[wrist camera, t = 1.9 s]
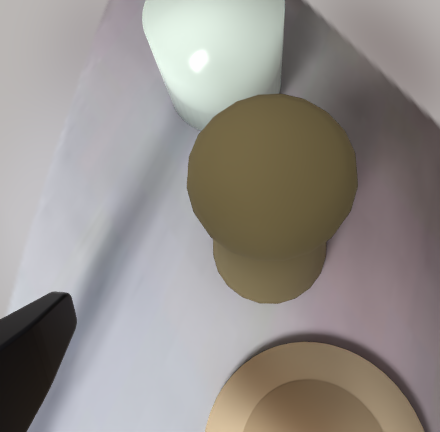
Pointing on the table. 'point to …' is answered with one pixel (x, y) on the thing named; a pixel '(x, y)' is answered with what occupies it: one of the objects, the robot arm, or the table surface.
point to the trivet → (311, 394)
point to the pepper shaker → (271, 192)
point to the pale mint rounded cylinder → (215, 52)
